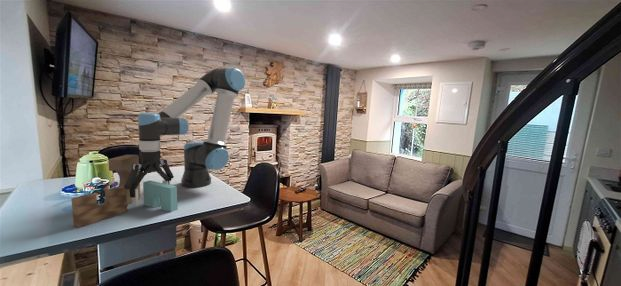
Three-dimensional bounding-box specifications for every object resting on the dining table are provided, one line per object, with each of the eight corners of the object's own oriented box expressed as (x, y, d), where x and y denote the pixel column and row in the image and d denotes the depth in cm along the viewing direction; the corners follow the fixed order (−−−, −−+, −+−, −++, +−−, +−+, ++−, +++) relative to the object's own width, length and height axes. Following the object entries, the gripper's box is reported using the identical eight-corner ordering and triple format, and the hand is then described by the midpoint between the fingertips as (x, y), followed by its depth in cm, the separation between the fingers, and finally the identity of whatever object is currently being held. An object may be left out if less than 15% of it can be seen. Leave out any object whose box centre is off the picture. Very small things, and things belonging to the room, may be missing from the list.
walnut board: (122, 209, 103) (121, 186, 102) (127, 211, 102) (126, 187, 101) (73, 226, 89) (71, 198, 87) (78, 227, 88) (76, 199, 86)
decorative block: (123, 207, 106) (120, 159, 104) (109, 206, 106) (107, 159, 104) (141, 197, 117) (139, 154, 115) (129, 197, 117) (126, 154, 115)
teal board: (144, 204, 109) (143, 182, 108) (150, 202, 112) (149, 180, 111) (171, 212, 104) (170, 188, 102) (177, 209, 106) (176, 186, 105)
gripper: (170, 146, 119) (170, 190, 122) (111, 153, 96) (114, 207, 99) (181, 147, 117) (182, 192, 119) (124, 155, 94) (126, 211, 96)
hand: (151, 199), depth 109 cm, fingers open, 13 cm apart
